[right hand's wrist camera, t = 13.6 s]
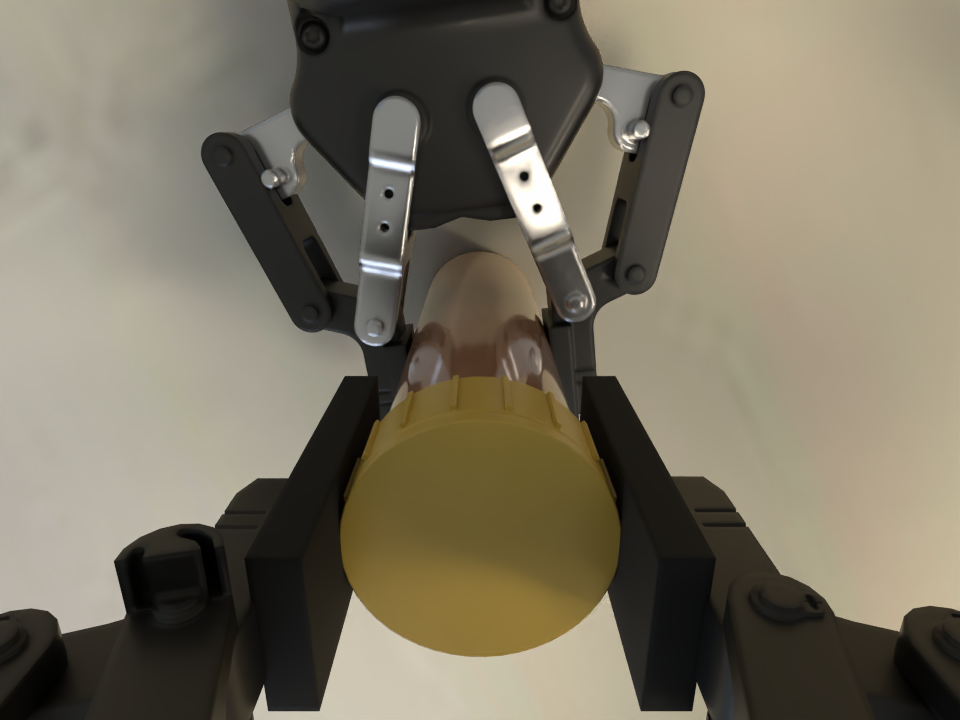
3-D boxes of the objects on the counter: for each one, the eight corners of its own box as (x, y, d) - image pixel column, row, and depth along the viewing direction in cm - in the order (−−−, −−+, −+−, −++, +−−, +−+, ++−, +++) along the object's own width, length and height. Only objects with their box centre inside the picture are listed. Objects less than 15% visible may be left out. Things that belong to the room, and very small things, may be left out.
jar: (539, 256, 25) (623, 432, 10) (526, 357, 26) (583, 638, 12) (431, 245, 25) (360, 409, 10) (424, 348, 26) (353, 620, 12)
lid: (625, 383, 12) (652, 430, 10) (584, 597, 13) (601, 670, 11) (360, 360, 11) (337, 402, 10) (353, 579, 13) (333, 651, 11)
